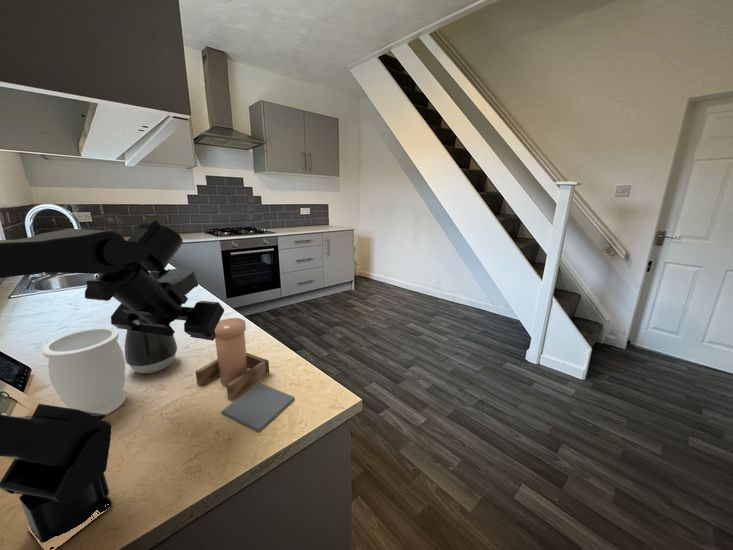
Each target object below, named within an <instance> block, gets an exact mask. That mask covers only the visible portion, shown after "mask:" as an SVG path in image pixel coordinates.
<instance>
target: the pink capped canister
mask: <svg viewBox="0 0 733 550" xmlns="http://www.w3.org/2000/svg"><path fill="white" fill-rule="evenodd" d="M246 330H247V327H246V320H245V319H242V318H239V317H238V318H237V317H230V318H224V319H220V321H219V323H218V324H217V326H216V328H215V335H216V337H215V339H214V340H215V350H216V355H217V356H216V357H217V359H218V366H219V381H220V385H222V386H223V387H226V388H227V386H226V385H227V384H228V383H230V382H231V381H233V380H234V379H236V378H237V377H239V376H240V375H242V374H244V373H245V372H247V371H248V370H249V368H248V367H247V356H246V353H247V349H246V348H247V347H246V335H245V332H246Z"/></svg>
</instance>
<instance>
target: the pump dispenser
mask: <svg viewBox="0 0 733 550" xmlns="http://www.w3.org/2000/svg"><path fill="white" fill-rule="evenodd" d="M177 351H178V345H177V341H176V339H175V335H174V334H173V336H166V335H158V334H151V333H144V332H136V331H129V330H126V333H125V339H124V361H125V364H126V365H127V364H128V365H129V367H130V368H131V369H132V370H133V371H135V372H137V373H140V374H152V373H157V372H160V371H162V370H164V369H166V368H167V367H169V366H170V365H172V363H173V362H174V359H175V357H176V355H177Z"/></svg>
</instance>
